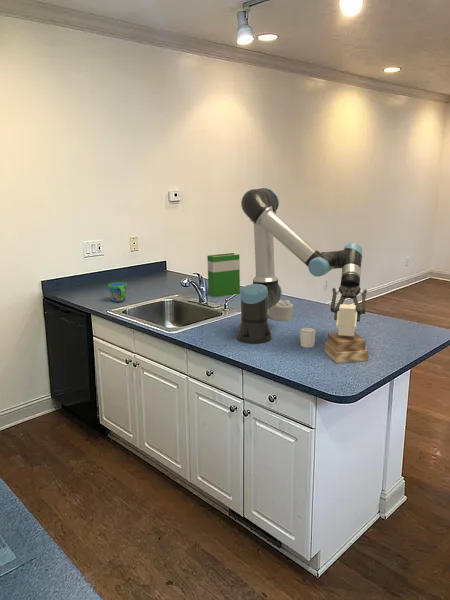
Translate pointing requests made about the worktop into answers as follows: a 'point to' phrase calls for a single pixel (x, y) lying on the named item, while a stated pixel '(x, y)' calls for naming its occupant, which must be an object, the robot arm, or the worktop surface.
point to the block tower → (346, 348)
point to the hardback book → (223, 274)
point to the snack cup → (117, 291)
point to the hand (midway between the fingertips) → (346, 327)
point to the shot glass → (307, 337)
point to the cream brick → (346, 320)
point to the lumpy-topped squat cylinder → (282, 311)
